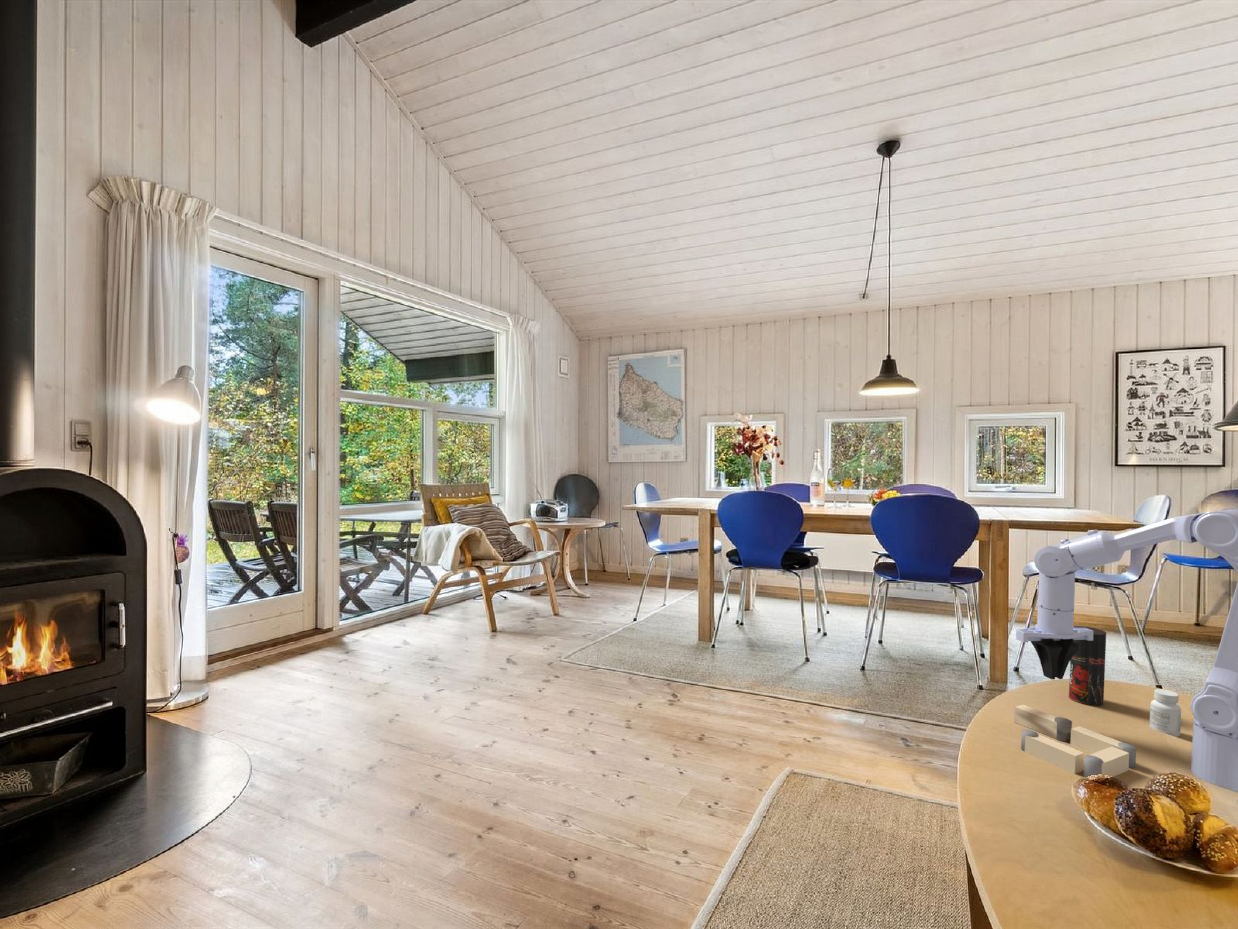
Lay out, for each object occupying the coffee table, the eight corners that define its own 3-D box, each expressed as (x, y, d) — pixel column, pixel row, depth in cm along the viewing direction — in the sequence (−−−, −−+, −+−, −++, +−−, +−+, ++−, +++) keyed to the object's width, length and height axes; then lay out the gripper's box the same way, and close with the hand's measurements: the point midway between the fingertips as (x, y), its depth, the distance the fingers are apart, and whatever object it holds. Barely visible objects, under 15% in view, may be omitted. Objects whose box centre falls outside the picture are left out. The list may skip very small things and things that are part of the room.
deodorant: (1110, 706, 131) (1113, 634, 131) (1081, 705, 131) (1084, 634, 131) (1090, 694, 137) (1092, 626, 137) (1062, 694, 137) (1064, 626, 137)
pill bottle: (1168, 728, 121) (1169, 688, 121) (1186, 738, 117) (1188, 697, 117) (1143, 726, 122) (1145, 687, 122) (1160, 737, 118) (1162, 696, 117)
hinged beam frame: (1141, 770, 105) (1142, 748, 105) (1097, 788, 100) (1098, 765, 100) (1058, 737, 117) (1059, 717, 117) (1015, 752, 111) (1015, 730, 111)
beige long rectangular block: (1074, 740, 114) (1075, 721, 114) (1066, 743, 113) (1066, 724, 113) (1022, 719, 123) (1022, 702, 123) (1014, 722, 122) (1014, 704, 122)
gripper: (1073, 601, 126) (1070, 668, 126) (1005, 602, 124) (1003, 670, 125) (1104, 611, 119) (1101, 682, 119) (1032, 612, 117) (1030, 684, 118)
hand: (1053, 677), depth 122 cm, fingers closed
